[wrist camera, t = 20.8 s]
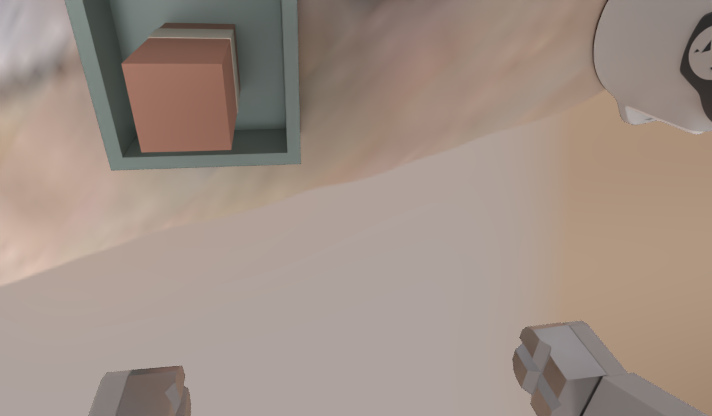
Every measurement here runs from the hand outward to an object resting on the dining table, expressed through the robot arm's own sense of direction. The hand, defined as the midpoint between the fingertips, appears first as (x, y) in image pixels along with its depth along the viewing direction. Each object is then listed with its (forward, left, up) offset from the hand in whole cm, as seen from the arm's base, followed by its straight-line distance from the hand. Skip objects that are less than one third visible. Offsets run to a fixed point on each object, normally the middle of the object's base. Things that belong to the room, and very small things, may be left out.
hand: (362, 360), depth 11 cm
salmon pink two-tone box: (+7, 0, -30) cm, 31 cm away
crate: (+7, 0, -31) cm, 32 cm away
